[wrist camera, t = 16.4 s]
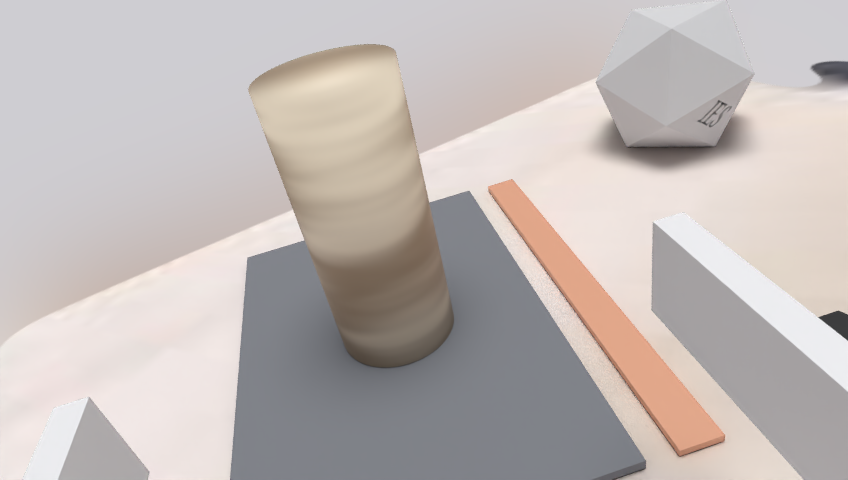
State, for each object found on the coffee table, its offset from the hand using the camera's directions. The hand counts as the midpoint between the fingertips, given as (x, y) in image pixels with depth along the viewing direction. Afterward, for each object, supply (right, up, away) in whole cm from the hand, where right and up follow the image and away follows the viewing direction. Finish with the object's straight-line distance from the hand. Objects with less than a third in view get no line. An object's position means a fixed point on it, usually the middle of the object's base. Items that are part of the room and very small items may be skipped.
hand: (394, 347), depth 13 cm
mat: (-1, -2, +13) cm, 13 cm away
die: (+17, +9, +23) cm, 30 cm away
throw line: (+8, +1, +14) cm, 16 cm away
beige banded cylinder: (0, -1, +13) cm, 13 cm away
